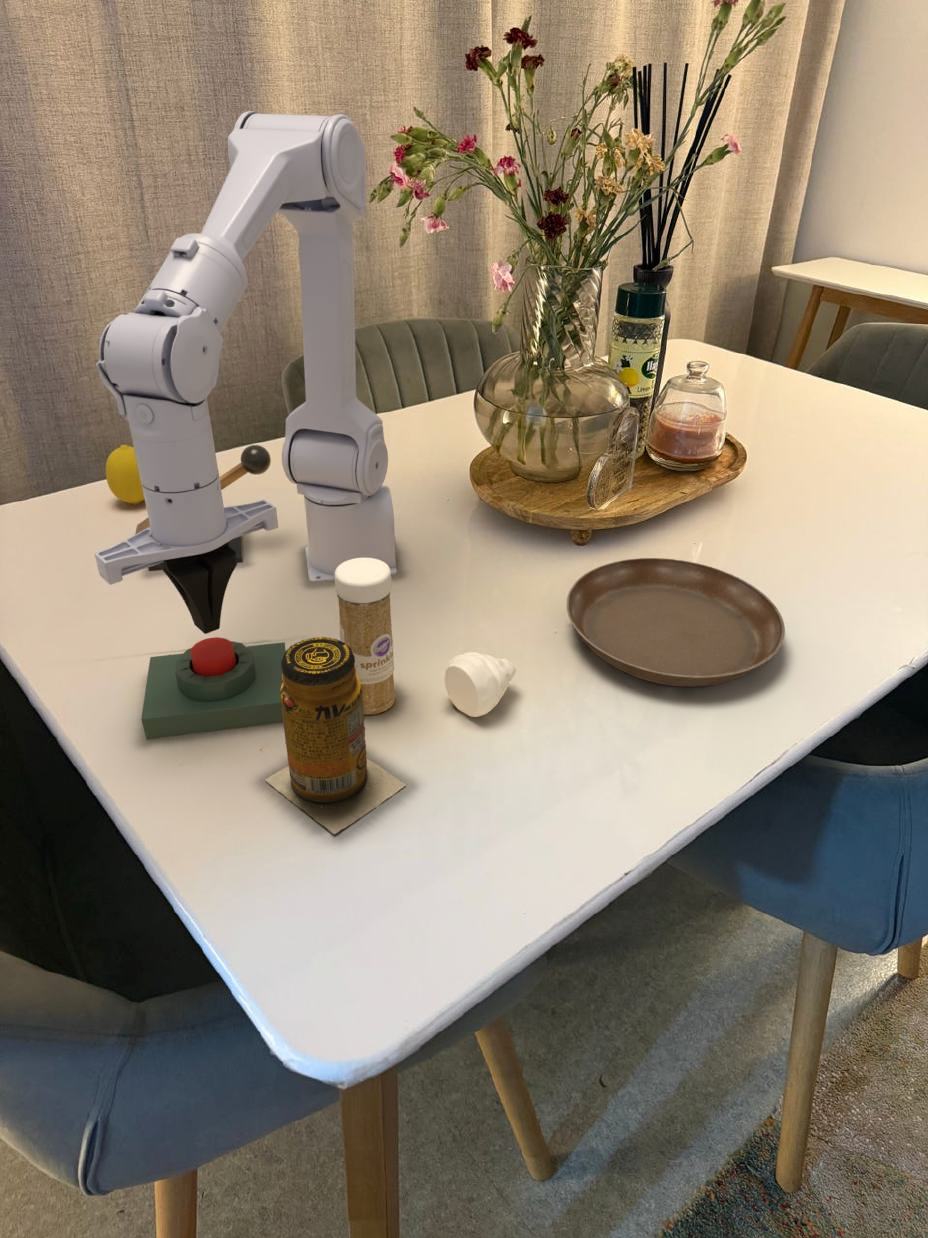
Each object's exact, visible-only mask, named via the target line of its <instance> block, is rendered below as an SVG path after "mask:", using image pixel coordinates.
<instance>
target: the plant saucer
mask: <svg viewBox="0 0 928 1238" xmlns="http://www.w3.org/2000/svg"><path fill="white" fill-rule="evenodd" d="M566 613H567V615H568V618H569V620H570V622H571V623H570V624H572V626H573V628H574V630H575V632H576V634H577V635H578V636H579V637H580V639H581V640H582V641H583V643H585V644H586V646H588V647H589V649H590V650H591V651H592V652H593V653H594V654H596V655H597V657H600V658H601V659H602V660H603V661H605V662H606V663H608V664H609V665H611V666H612V667H613V668H616V669H618V670H619V671H621V672H624V673H626V674H627V675H630V676H633V677H635V678H638V679H641V680H644V681H648V682H651V683H656V684H660V685H665V686H672V687H689V688H691V687H694V688H695V687H706V686H707V687H708V686H712V685H713V686H714V685H719V684H723V683H726V682H730V681H733V680H737V679H739V678H742V677H744V676H747V675H748V674H750V673H752V672H754V671H755V670H757V669H759V668H760V667H762V666H763V665H764V664H766V663H768V662H769V661H770V660H771V659H772V658H773V657H774V656H776V654H777V653H778V651H779V650H780V648H781V647H782V645H783V643H784V640H785V635H786V627H785V623H784V619H783V616H782V614H781V613H780V611H779V609H778V608H777V606H776V605H775V604H774V603H773V601H772V600H771V599H770V598H769V597H768V596H767V595H766V594H765V593H764V592H762V591H761V590H760V589H758V588H757V587H755V586H754V585H752V584H751V583H749V582H747V581H746V580H745V579H742V578H740V577H738V576H736V575H734V574H731V573H729V572H726V571H724V570H721V569H719V568H716V567H713V566H709V565H705V564H703V563H702V564H701V563H698V562H694V561H688V560H683V559H674V558H664V557H663V558H661V557H647V558H646V557H641V558H639V557H638V558H630V559H622V560H617V561H614V562H609V563H606V564H603V565H600V566H598V567H595V568H593V569H591V570H589V571H587V572H586V573H585V574H583V575H582V576H580V577H579V578H578V579H577V580H576V581H575V582H574V583H573V585H572V586H571V588H570V589H569V591H568V594H567V598H566Z"/></svg>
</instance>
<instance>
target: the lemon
mask: <svg viewBox="0 0 928 1238" xmlns="http://www.w3.org/2000/svg"><path fill="white" fill-rule="evenodd" d="M105 476H106V482H107V485H108V488H109V490H110V492H111V493H112V494H113V495H114V497H116V498H117V499H119V500H120V501H122V502H124V503H127V504H128V503H129V504H131V505H134V506H138V505H140V504H141V503H142V501H145V498H144V494H143V489H142V484H141V480H140V475H139V470H138V466H137V461H136V456H135V451H134V446H130V445H127V444H121V445H120V446H119V447H118V448H116V449H114V450H113V451H112V452H111V453H110V454H109V456H108V457H107V459H106V463H105Z"/></svg>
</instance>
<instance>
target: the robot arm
mask: <svg viewBox="0 0 928 1238" xmlns="http://www.w3.org/2000/svg"><path fill="white" fill-rule="evenodd" d="M227 155H228V164H229V171H228V173H227V175H226V177H225V180H224V182H223V184H222V187H221V188H220V190H219V193H218V195H217V197H216V199H215V202H214V203H213V206H212V208H211V210H210V213H209V215H208V217H207V219H206V221H205V223H204V225H203V227H202V229H201V232H200V233H197V232H196V233H195V232H194V233H187V234H184V235H182V236H181V237H177V238H175V241H174V242H173V243H172V246H171V247H170V250H169V253H168V254H167V256H166V258H165V260H164V262H163V263H162V265H161V266H160V268H159V269H158V271H157V273H156V274H155V276H154V278H153V279H152V281H151V283H150V285H149V286H148V287H147V289H146V291H145V292H144V294H143V296H142V297H141V299H140V301H139V302H138V303H137V306H136V307H135V309H134V311H133V312H124V314H123V313H122V314H119V315H118V316H116V317H115V318H114V319H113V320H112V321H111V322H109V323H108V324H107V325H106V326H105V327H104V329H103V331H102V334H101V336H100V340H99V345H98V356H99V357H98V359H99V360H98V362H96V364H95V366H96V371H97V373H98V377H99V378H100V380H101V382H102V384H103V385H104V387H105V388H106V389H107V390H108V391H109V392H110V393H111V394H112V395H113V396H114V399H115V401H116V405H117V410H118V414H119V415H121V416H122V418H123V419H124V420H125V421H127V423H128V426H129V431H130V436H131V441H132V447H134V451H135V456H136V461H137V466H138V470H139V475H140V480H141V484H142V489H143V494H144V498H145V500H144V502H145V508H146V512H147V518H149V522H150V527H149V528H147V529H145V530H143V531H141V532H139V533H137V534H134V535H131V536H130V537H127V538H126V539H124V540H122V541H120V542H118V543H117V544H115V545H112V546H110V547H108V548H106V549H103V550H100V551H97V552H95V553H94V558H95V562H96V566H97V570H98V573H99V576H100V577H101V578H102V580H104V581H105V582H106V583H107V584H108V585H115V584H117V583H120V582H122V581H123V580H124V579H123V577H124V576H127V575H131V574H133V573H136V572H139V571H142V570H145V569H149V568H148V567H151V566H154V565H157V564H158V565H159V567H160V568H161V569H162V570H161V571H163V573H164V575H166V577H167V578H168V579H169V580H170V582H171V583H172V584H173V586H174V587H175V589H176V590H177V592H178V594H179V595H180V597H181V598H182V601H183V602H184V604H185V605H186V607H187V609H188V610H187V611H188V612H189V614H190V617H191V619H192V621H193V624H194V626H195V627H196V628H197V629H199V630H200V631H201V632H202V633H203V634H204V635H207V634H210V633H212V632H215V631H218V630H220V628H221V618H222V609H223V604H224V599H225V594H226V591H227V587H228V585H229V582H230V579H231V577H232V575H233V572H234V571H235V569H236V567H237V565H238V563H237V555H236V552H235V551H234V550H233V549H232V548H230V547H229V544H228V542H229V541H230V540H232V539H234V538H237V537H240V536H242V537H243V536H245V535H249V534H252V533H254V532H257V531H260V530H265V531H266V532H270V531H274V530H277V529H278V528H279V520H278V513H277V507H276V506H275V505H273V504H271V503H270V502H268V501H266V500H265V499H261V500H258V501H254V502H249V503H244V504H237V505H232V506H231V505H230V506H224V499H223V494H222V490H221V485H220V479H219V477H220V473H219V468H218V460H217V455H216V454H217V453H216V448H215V441H214V435H213V428H212V422H211V415H210V409H209V402H208V397H209V395H210V394H211V392H212V391H213V390H214V388H215V387H216V385H217V381H218V377H219V371H220V356H221V352H222V350H223V349H224V345H223V344H224V338H223V336H222V333H223V331H224V330H225V328H226V327H227V324H228V322H229V321H230V318H231V317H232V315H233V313H234V311H235V309H236V308H237V306H238V304H239V302H240V301H241V298H242V296H243V294H244V293H245V291H246V289H247V287H248V281H249V280H248V279H249V278H248V273H247V269H246V267H245V265H244V263H243V261H244V260H245V259H246V257H247V256H248V254H249V253H250V252H251V250H252V248H253V247H254V246H255V244H256V243H257V241H258V240H259V239H260V237H261V235H262V234H263V233H264V231H265V230H266V228H267V227H268V226H269V224H270V223H271V221H272V220H273V218H274V217H275V215H276V214H280V215H282V216H283V217H285V219H286V220H287V221H288V222H289V223H290V225H291V226H292V227H293V228H294V230H295V231H296V233H297V235H298V256H299V258H298V259H299V260H298V261H299V278H300V304H301V323H302V325H301V326H302V345H303V347H302V348H303V368H304V389H305V401H304V402H303V403H302V404H300V405H299V406H297V407H296V408H295V409H294V410H293V411H292V412H290V414H288V415H287V417H286V418H285V433H284V442H283V444H282V448H281V449H282V450H281V463H282V469H283V471H284V474H285V477H286V478H287V479H288V481H289V482H290V483H292V484H294V485H296V492H297V494H299V495H303V499H304V509H305V510H304V511H305V517H306V518H305V519H306V529H307V541H308V545H306V546H305V547H304V550H305V557H306V566H307V574H308V581H309V582H310V583H312V584H314V583H316V584H317V583H326V582H335V570H336V568H337V567H338V566H339V565H340V564H342V563H343V562H345V561H348V560H351V559H355V558H374V559H378V560H381V561H383V562H385V563H386V564H387V565H388V566H389V568H390V570H391V576H394V575H396V574H397V573H398V570H397V561H396V560H397V559H396V549H397V541H396V540H397V539H396V534H395V533H396V532H395V515H394V505H393V499H392V493H391V490H390V489H391V488H390V487H389V485H384V482H385V480H386V477H387V474H388V473H387V472H388V466H389V452H388V447H387V444H386V442H385V434H384V426H383V420H382V418H381V417H380V416H378V415H377V414H376V413H375V412H374V411H372V410H371V409H370V408H369V407H368V406H367V405H366V404H364V403H363V402H362V401H361V400H359V399H358V397H357V370H356V369H357V368H356V367H357V366H356V364H357V363H356V362H357V361H356V315H355V312H356V311H355V308H356V307H355V262H354V261H355V257H354V256H355V255H354V254H355V253H354V223H355V222H357V221H359V220H362V219H363V218H365V216H366V202H367V188H366V187H367V185H366V181H367V180H366V179H367V178H366V149H365V144H364V142H363V140H362V138H361V135H360V134H359V132H358V130H357V128H356V126H355V123H354V122H353V120H351V118H350V117H349V116H348V115H345V114H343V113H341V114H340V113H338V114H334V115H311V114H310V115H309V114H282V113H281V114H280V113H279V114H278V113H259V112H258V111H255V110H254V111H251V110H248V111H245V112H243V113H241V115H239V117H238V118H237V120H236V122H235V124H234V127H233V130H232V132H230V134H229V135H228V136H227Z"/></svg>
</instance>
